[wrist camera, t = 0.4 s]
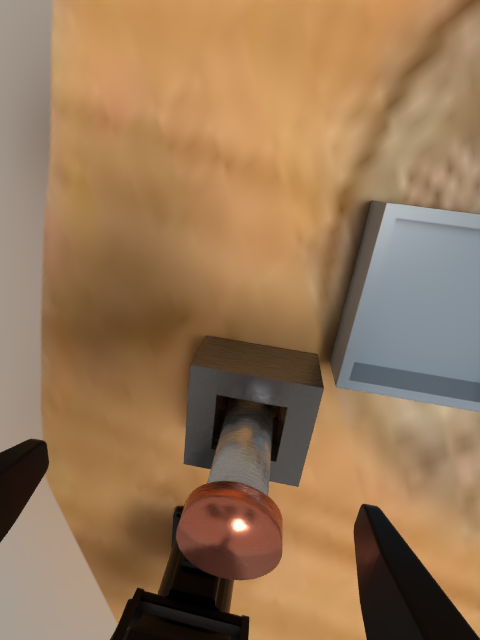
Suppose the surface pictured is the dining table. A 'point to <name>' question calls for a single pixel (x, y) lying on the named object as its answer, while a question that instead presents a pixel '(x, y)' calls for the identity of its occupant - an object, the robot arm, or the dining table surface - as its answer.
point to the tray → (414, 308)
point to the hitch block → (253, 385)
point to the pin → (235, 501)
